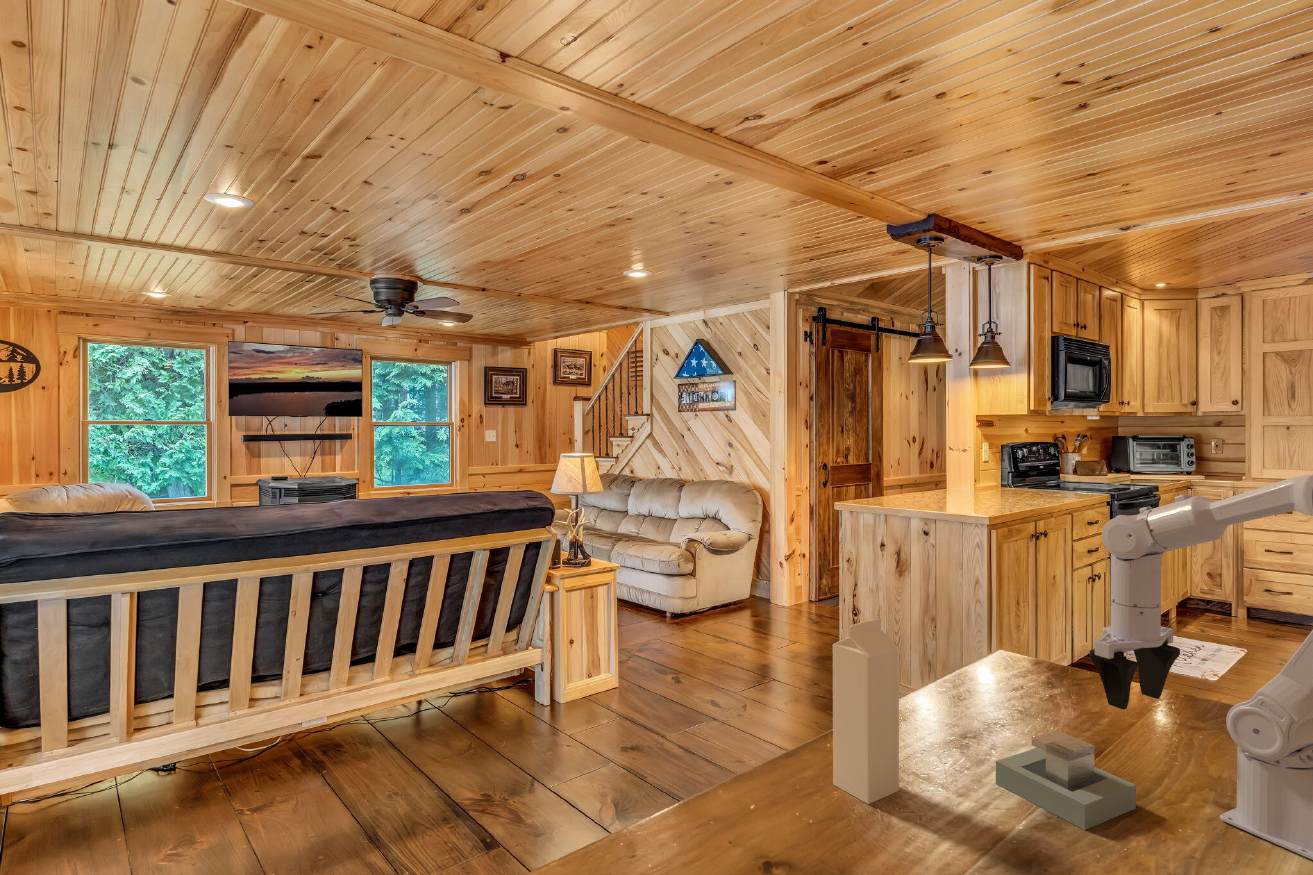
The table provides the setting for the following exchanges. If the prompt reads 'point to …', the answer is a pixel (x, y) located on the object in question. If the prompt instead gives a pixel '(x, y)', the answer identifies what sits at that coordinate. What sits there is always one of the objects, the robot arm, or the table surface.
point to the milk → (866, 713)
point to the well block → (1075, 807)
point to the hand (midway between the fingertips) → (1134, 701)
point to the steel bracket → (1067, 759)
